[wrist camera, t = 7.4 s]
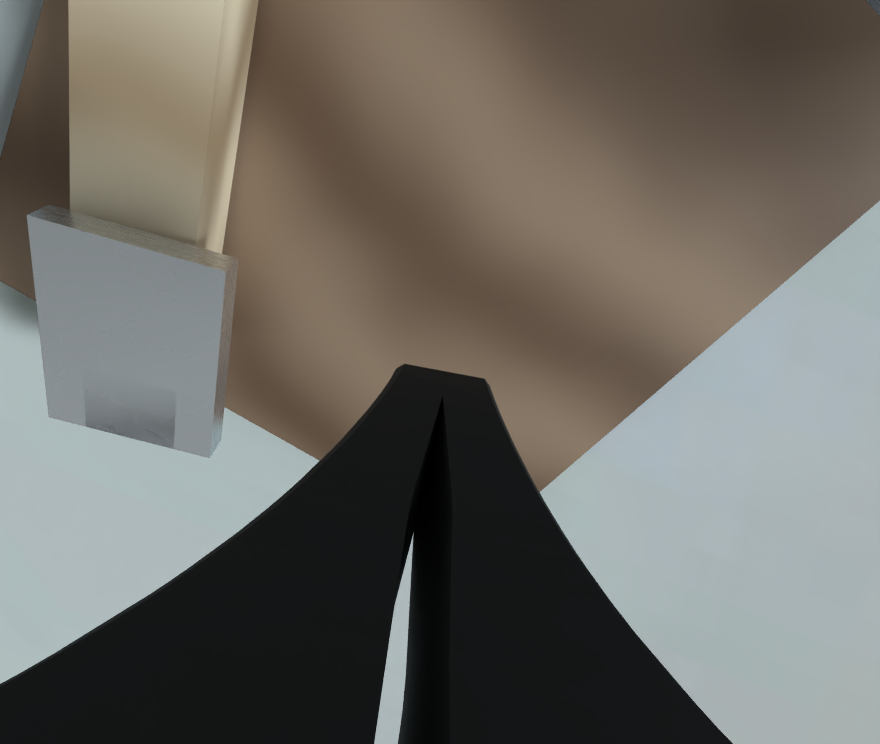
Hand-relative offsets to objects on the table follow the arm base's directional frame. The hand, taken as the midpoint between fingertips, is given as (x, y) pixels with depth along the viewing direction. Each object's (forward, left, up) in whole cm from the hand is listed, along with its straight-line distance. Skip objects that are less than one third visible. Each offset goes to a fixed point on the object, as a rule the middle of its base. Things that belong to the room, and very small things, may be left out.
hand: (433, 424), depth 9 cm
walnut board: (0, -2, -9) cm, 9 cm away
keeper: (+6, -5, -8) cm, 12 cm away
